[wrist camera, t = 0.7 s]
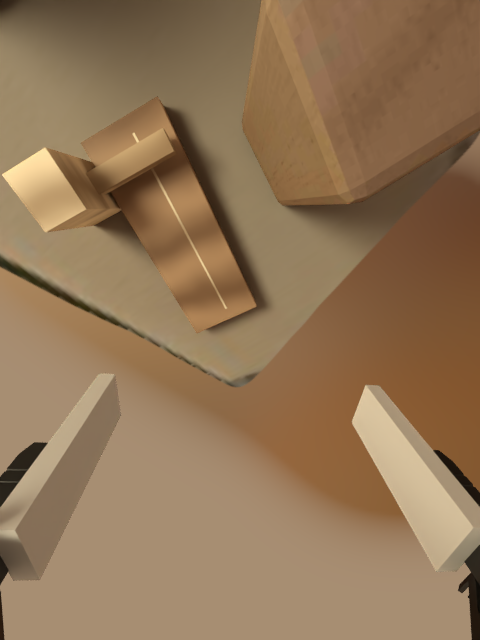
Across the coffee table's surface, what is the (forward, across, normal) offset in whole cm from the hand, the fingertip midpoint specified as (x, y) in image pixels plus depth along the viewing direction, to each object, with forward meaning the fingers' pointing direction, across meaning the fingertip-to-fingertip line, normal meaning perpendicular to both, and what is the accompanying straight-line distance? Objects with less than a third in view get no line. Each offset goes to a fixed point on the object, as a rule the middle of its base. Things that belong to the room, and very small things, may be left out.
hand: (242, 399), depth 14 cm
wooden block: (+24, +6, +16) cm, 29 cm away
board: (+23, -7, +5) cm, 25 cm away
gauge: (+23, -13, +11) cm, 29 cm away
